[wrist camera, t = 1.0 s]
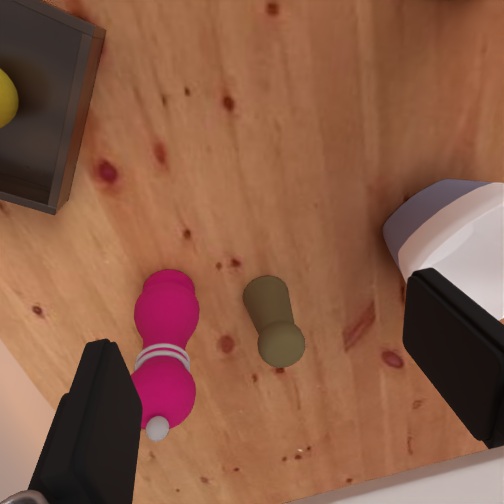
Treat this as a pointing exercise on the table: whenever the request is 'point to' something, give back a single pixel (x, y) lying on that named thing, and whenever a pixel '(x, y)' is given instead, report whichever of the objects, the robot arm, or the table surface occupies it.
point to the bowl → (454, 237)
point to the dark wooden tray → (45, 100)
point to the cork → (274, 321)
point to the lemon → (7, 99)
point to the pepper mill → (165, 351)
